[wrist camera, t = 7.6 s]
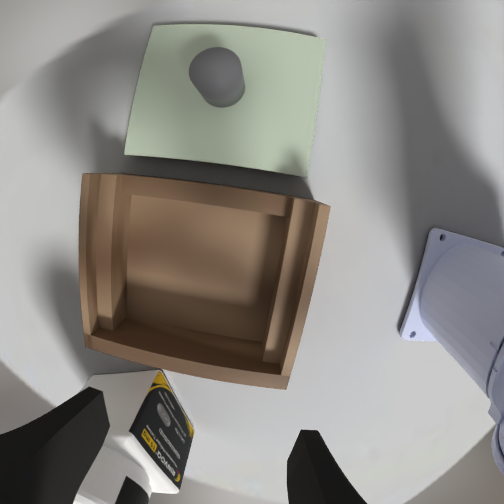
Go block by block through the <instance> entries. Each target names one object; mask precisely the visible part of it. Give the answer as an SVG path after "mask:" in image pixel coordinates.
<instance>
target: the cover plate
mask: <svg viewBox="0 0 504 504" xmlns="http://www.w3.org/2000/svg"><path fill="white" fill-rule="evenodd" d="M325 43H326V39H322V38H318V37H313V36H308V35H303V34H298V33H292V32H286V31H280V30H273V29H265V28H257V27H247V26H234V25H215V24H176V25H157V26H153V28H152V32H151V35H150V38H149V41H148V45H147V48H146V52H145V55H144V59H143V63H142V66H141V70H140V74H139V78H138V82H137V87H136V91H135V96H134V100H133V105H132V110H131V115H130V120H129V126H128V132H127V138H126V144H125V150H124V155H132V156H146V157H159V158H170V159H181V160H190V161H199V162H208V163H216V164H224V165H231V166H238V167H245V168H252V169H258V170H265V171H271V172H277V173H282V174H288V175H294V176H299V177H304V178H307V173H308V167H309V161H310V155H311V148H312V142H313V135H314V129H315V122H316V115H317V108H318V100H319V93H320V85H321V77H322V69H323V61H324V52H325Z"/></svg>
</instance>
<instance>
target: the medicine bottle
mask: <svg viewBox="0 0 504 504" xmlns="http://www.w3.org/2000/svg"><path fill="white" fill-rule="evenodd" d="M89 386H90V387H92V388H95V389H98V390H101V391H103V395H104V400H105V405H106V410H107V414H108V419H109V423H110V428H109V430H108V433H107V436H106V438H105V441H104V443H103V446H102V448H101V450H100V451H99V453H98V455H97V457H96V459H95V460H94V462H93V464H92V466H91V468H90V469H89V471H88V473H87V475H86V476H85V478H84V480H83V482H82V484H81V486H80V488H79V490H78V492H77V494H76V497H75V500H74V502H73V504H148V502H149V499H150V496H151V492H158V493H171V494H176V493H178V492H179V491H180V487H181V483H182V479H183V475H184V471H185V467H186V463H187V459H188V455H189V451H190V447H191V443H192V439H193V435H194V428H193V427H192V425H191V423H190V422H189V420H188V418H187V416H186V415H185V413H184V411H183V409H182V408H181V406H180V404H179V402H178V401H177V399H176V397H175V395H174V393H173V391H172V389H171V388H170V386H169V384H168V382H167V380H166V378H165V376H164V374H163V372H162V371H161V370H150V371H140V372H129V373H117V374H103V375H93V376H91V378H90V379H89V380H88V381H87V383H86V384H85V385H84V387H83V388H82V389H81V390H80V392H81V391H82V390H84V389H86V388H87V387H89Z"/></svg>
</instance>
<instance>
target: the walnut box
mask: <svg viewBox="0 0 504 504" xmlns="http://www.w3.org/2000/svg"><path fill="white" fill-rule="evenodd" d="M330 207H331V206H328V205H326V204H323V203H321V202H318V201H316V200H312V199H306V198H301V197H295V196H290V195H284V194H278V193H272V192H266V191H260V190H254V189H248V188H241V187H234V186H227V185H220V184H213V183H205V182H198V181H190V180H181V179H173V178H163V177H154V176H144V175H133V174H121V173H84V174H82V184H81V196H80V213H79V282H80V299H81V311H82V321H83V330H84V339H85V346H86V347H88V348H91V349H94V350H97V351H100V352H103V353H106V354H109V355H113V356H116V357H119V358H123V359H126V360H130V361H133V362H137V363H141V364H144V365H148V366H152V367H156V368H160V369H165V370H169V371H173V372H178V373H182V374H187V375H192V376H197V377H202V378H207V379H213V380H218V381H224V382H230V383H237V384H244V385H251V386H258V387H266V388H275V389H285V390H286V388H287V385H288V382H289V378H290V375H291V371H292V368H293V364H294V361H295V357H296V354H297V350H298V347H299V343H300V339H301V335H302V332H303V328H304V324H305V320H306V316H307V312H308V308H309V304H310V300H311V296H312V292H313V288H314V283H315V279H316V275H317V270H318V266H319V261H320V257H321V252H322V247H323V242H324V238H325V233H326V228H327V223H328V217H329V212H330Z"/></svg>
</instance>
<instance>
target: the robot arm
mask: <svg viewBox="0 0 504 504" xmlns="http://www.w3.org/2000/svg"><path fill="white" fill-rule="evenodd" d="M441 234H442V235H443V237H442V239H441V240H440V236H441ZM501 253H502V255H501ZM413 331H414V332H413ZM411 332H413V334H411V335H410V333H411ZM399 335H400V337H401V338H402V339H403V340H414V341H438V342H439V343H440V344H441V345H442V346H443V347H444V348H445V349H446V350H447V352H448V353H449V354H450V355H451V356H452V357H453V358H454V359H455V360H456V361H457V362H458V363H459V365H460V366H461V367H462V368H463V369H464V370H465V371H466V372H467V373H468V375H469V376H470V377H471V378H472V379H473V380H474V381H475V383H476V384H477V385H478V386H479V387H480V388H481V389H482V391H483V392H484V393H485V394H486V395H487V397H488V398H489V399H490V401H491V406H490V409H489V411H488V413H489V415H490V416H491V417H492V418H493V420H494V421H495V422H496V424H497V426H496V427H495V430H494V433H493V438H492V452H493V457H494V460H495V463H496V464H497V466H498V468H499V470H500V471H501V472H502V474H503V475H504V248H503V247H500V246H497V245H493V244H490V243H487V242H484V241H480V240H477V239H474V238H470V237H467V236H464V235H460V234H457V233H453V232H449V231H446V230H442V229H438V228H433V229H431V231H430V232H429V236H428V240H427V244H426V248H425V252H424V256H423V260H422V264H421V268H420V271H419V275H418V278H417V282H416V285H415V288H414V292H413V295H412V298H411V301H410V304H409V307H408V310H407V313H406V316H405V319H404V321H403V324H402V327H401V330H400V333H399ZM109 428H110V423H109V419H108V414H107V410H106V405H105V400H104V395H103V391H101V390H98V389H95V388H92V387H90V386H89V387H87V388H86V389H84V390H82V391H81V392H79V393H78V394H76V395H75V396H73V397H72V398H70V399H69V400H67V401H66V402H64V403H62V404H61V405H59V406H58V407H56V408H54V409H53V410H51V411H50V412H48V413H46V414H44V415H43V416H41V417H39V418H37V419H35V420H33V421H31V422H30V423H28V424H26V425H23V426H22V427H19V428H17V429H14V430H12V431H9V432H7V433H4V434H1V435H0V504H73V502H74V500H75V497H76V494H77V492H78V490H79V488H80V486H81V484H82V482H83V480H84V478H85V476H86V475H87V473H88V471H89V469H90V468H91V466H92V464H93V462H94V460H95V459H96V457H97V455H98V453H99V451H100V450H101V448H102V446H103V443H104V441H105V438H106V436H107V433H108V430H109ZM287 490H288V499H289V504H367V503H366V502H365V501H364V500H363V498H362V497H361V496H360V495H359V494H358V492H357V491H356V490H355V489H354V487H353V486H352V485H351V483H350V482H349V481H348V479H347V478H346V476H345V475H344V473H343V472H342V470H341V469H340V467H339V466H338V464H337V463H336V461H335V459H334V458H333V456H332V454H331V453H330V451H329V449H328V448H327V446H326V444H325V442H324V440H323V438H322V437H321V435H320V433H319V432H318V430H301V431H300V433H299V435H298V438H297V440H296V442H295V445H294V447H293V449H292V451H291V454H290V456H289V458H288V460H287Z"/></svg>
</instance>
